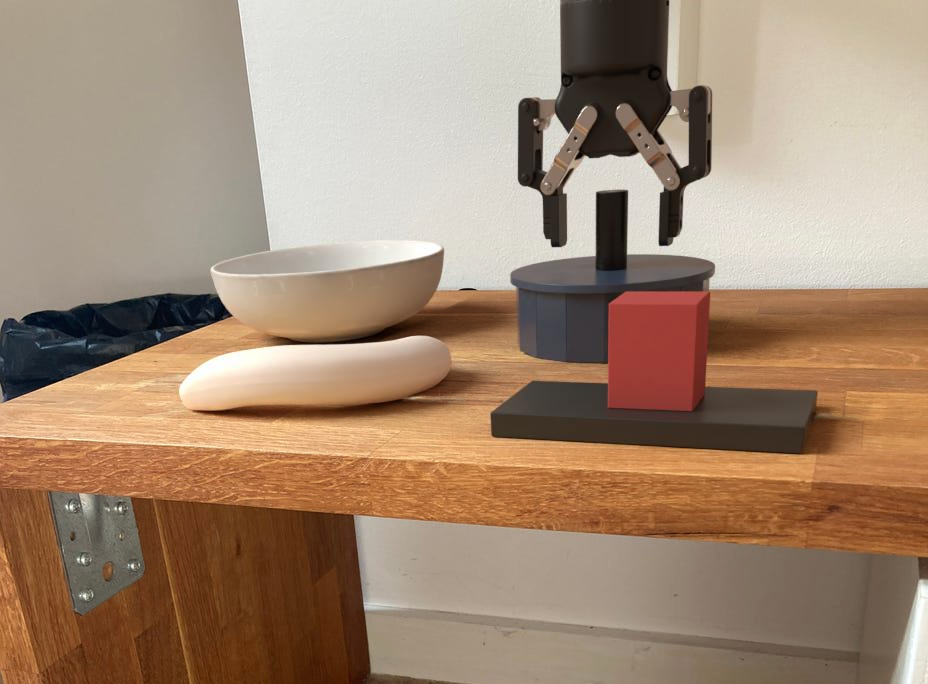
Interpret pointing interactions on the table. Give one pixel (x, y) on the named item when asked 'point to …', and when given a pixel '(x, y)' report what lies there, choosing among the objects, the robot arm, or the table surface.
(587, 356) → the pot
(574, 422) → the board
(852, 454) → the table surface
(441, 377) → the banana
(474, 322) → the table surface
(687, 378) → the red chamfered block
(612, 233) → the pot lid
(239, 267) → the serving bowl
